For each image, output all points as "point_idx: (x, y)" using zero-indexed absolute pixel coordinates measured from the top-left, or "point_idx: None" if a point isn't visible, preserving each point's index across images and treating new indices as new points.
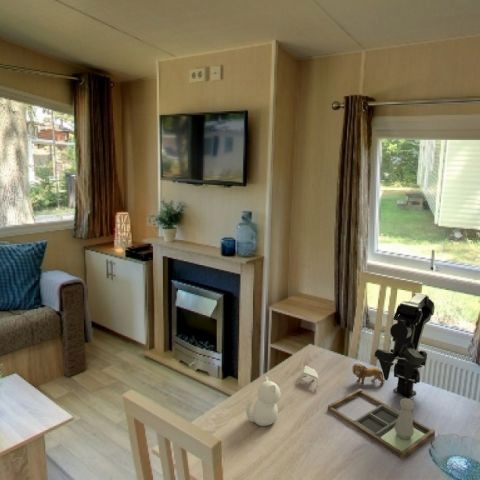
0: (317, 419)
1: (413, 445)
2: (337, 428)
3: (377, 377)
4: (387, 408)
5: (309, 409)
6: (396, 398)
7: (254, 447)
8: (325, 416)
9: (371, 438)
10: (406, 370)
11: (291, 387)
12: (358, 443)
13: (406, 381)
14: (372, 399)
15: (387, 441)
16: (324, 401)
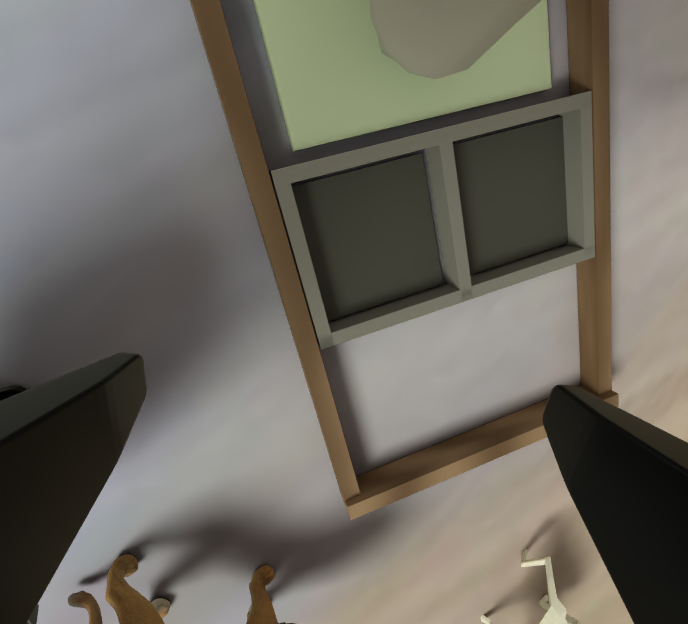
0: (671, 343)
1: None
2: (652, 255)
3: (157, 619)
4: (320, 295)
5: (648, 415)
6: None
7: None
8: (631, 353)
9: None
10: (8, 585)
11: (601, 569)
12: (659, 111)
13: (137, 365)
14: (337, 413)
15: (541, 31)
16: None
